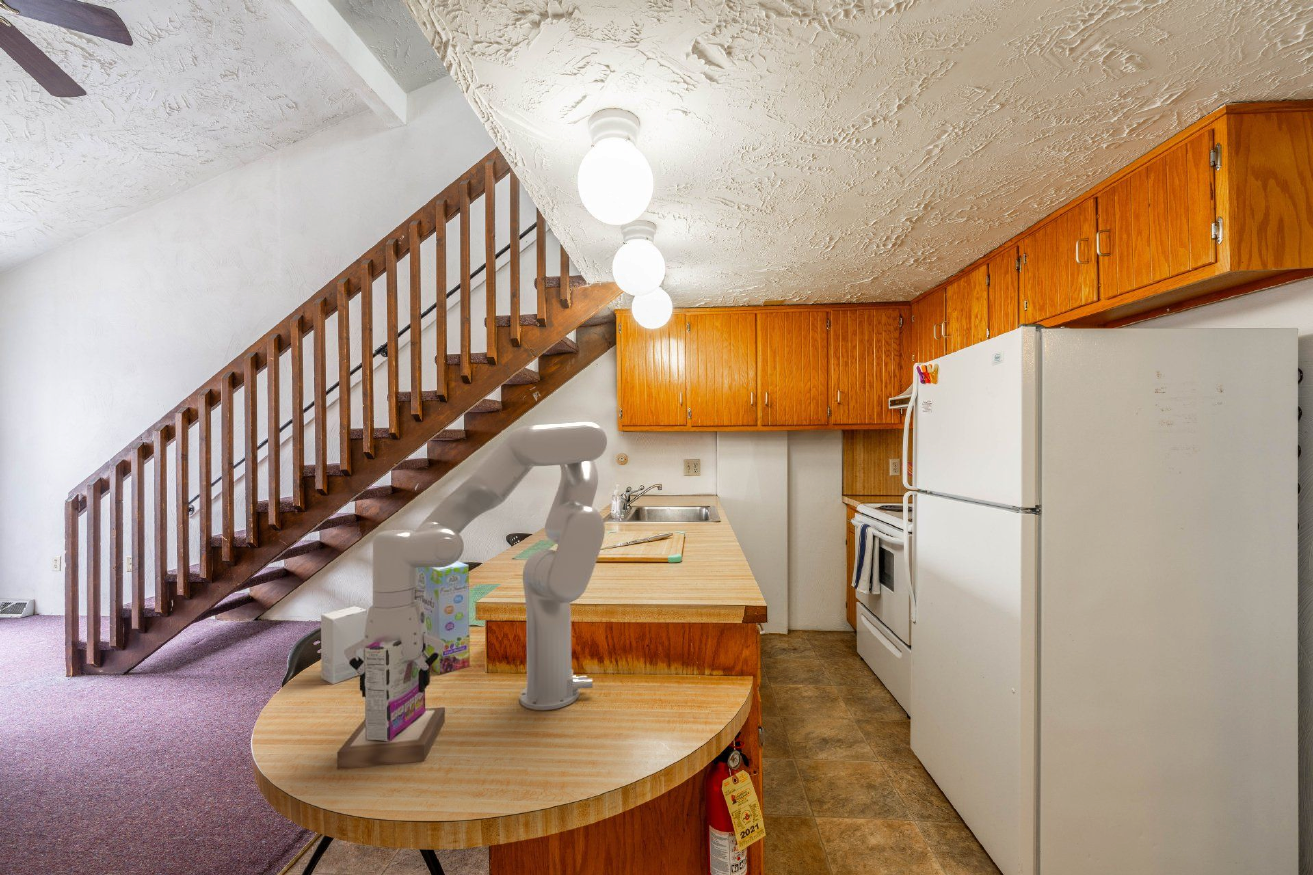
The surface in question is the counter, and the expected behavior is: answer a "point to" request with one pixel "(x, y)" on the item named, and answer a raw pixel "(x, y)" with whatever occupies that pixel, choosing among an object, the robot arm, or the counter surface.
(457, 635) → the snack box
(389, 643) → the candy bar box
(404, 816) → the counter surface
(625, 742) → the counter surface
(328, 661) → the skincare box
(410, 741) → the base
